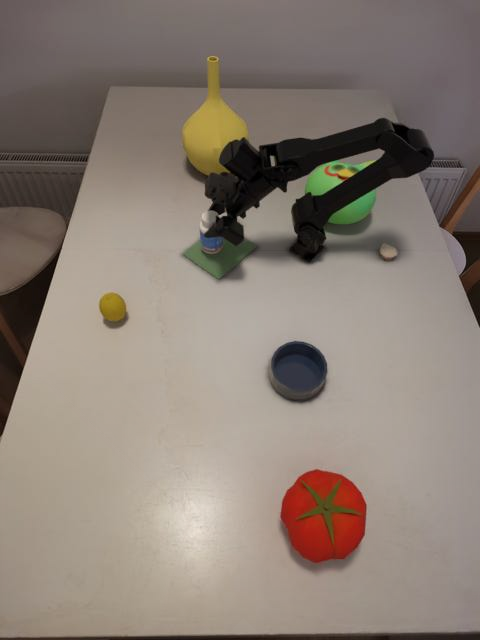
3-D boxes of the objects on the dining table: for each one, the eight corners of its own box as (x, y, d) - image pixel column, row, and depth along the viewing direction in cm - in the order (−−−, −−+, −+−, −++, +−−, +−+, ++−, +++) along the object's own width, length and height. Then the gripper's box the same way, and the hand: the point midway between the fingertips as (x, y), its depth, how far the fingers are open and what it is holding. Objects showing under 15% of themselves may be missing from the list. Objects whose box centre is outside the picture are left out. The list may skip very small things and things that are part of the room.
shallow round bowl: (291, 342, 94) (293, 331, 90) (333, 373, 90) (338, 363, 86) (258, 377, 89) (259, 367, 85) (302, 411, 85) (305, 402, 81)
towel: (220, 224, 113) (220, 223, 113) (255, 247, 109) (256, 246, 108) (183, 255, 107) (182, 253, 107) (218, 280, 103) (218, 278, 102)
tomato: (357, 487, 77) (376, 470, 68) (350, 576, 70) (370, 572, 60) (285, 469, 79) (292, 451, 69) (270, 555, 71) (276, 548, 62)
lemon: (124, 329, 95) (116, 309, 88) (100, 325, 95) (90, 304, 89) (132, 309, 98) (125, 288, 91) (109, 305, 98) (100, 283, 92)
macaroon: (381, 262, 107) (384, 256, 105) (374, 248, 109) (377, 241, 107) (397, 260, 107) (401, 253, 105) (389, 245, 110) (393, 238, 108)
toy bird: (293, 223, 114) (301, 177, 101) (312, 184, 122) (321, 138, 110) (360, 243, 110) (376, 198, 98) (374, 202, 119) (391, 155, 107)
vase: (259, 160, 128) (266, 54, 103) (225, 195, 119) (223, 88, 94) (208, 139, 133) (203, 33, 108) (172, 171, 124) (157, 64, 99)
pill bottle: (221, 255, 104) (219, 226, 96) (199, 253, 105) (196, 223, 97) (224, 239, 107) (223, 209, 99) (203, 236, 108) (200, 207, 100)
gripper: (225, 138, 92) (179, 182, 101) (227, 198, 82) (176, 240, 91) (260, 169, 99) (214, 206, 108) (266, 227, 89) (215, 263, 98)
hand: (205, 227), depth 101 cm, fingers closed on pill bottle, 5 cm apart
